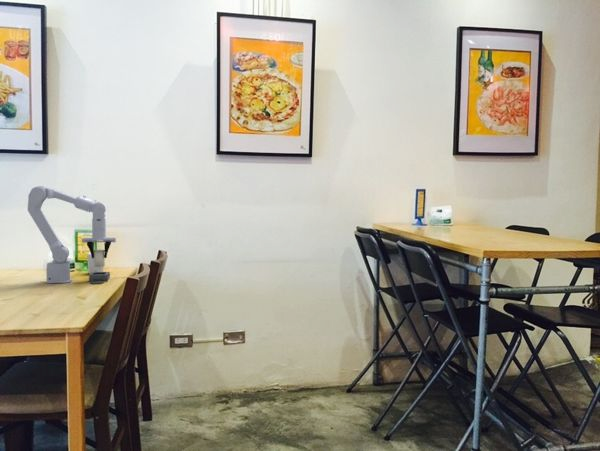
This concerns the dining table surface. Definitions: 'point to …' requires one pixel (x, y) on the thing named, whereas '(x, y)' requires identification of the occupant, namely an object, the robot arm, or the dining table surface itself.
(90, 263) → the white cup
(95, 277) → the housing
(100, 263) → the end cover
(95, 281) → the mat
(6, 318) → the dining table surface
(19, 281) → the dining table surface
